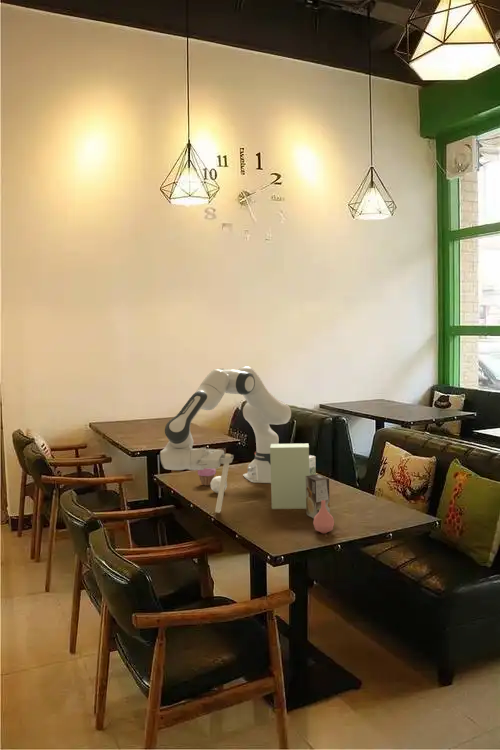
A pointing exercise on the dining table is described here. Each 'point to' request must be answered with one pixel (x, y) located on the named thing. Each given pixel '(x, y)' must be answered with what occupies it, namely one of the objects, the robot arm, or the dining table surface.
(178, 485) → the dining table surface
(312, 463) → the syrup box
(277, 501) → the shelf block
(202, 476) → the cupcake
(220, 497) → the domino bar
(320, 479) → the coffee box
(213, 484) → the geometric ball
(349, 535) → the dining table surface
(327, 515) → the pink vase
